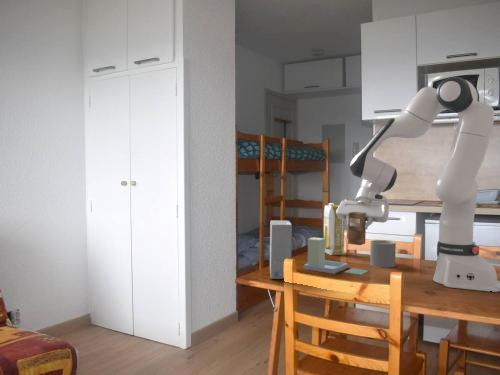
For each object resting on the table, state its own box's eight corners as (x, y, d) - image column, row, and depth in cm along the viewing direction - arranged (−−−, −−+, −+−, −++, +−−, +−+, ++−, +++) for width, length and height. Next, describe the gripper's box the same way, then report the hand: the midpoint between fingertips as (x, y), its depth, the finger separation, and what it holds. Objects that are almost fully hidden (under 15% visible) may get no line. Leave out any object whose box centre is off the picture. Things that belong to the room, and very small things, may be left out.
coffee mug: (384, 269, 178) (385, 244, 177) (365, 265, 186) (365, 241, 185) (405, 265, 185) (405, 241, 185) (385, 261, 193) (386, 238, 193)
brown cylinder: (365, 243, 172) (366, 212, 172) (360, 245, 168) (361, 213, 167) (353, 242, 175) (353, 211, 174) (347, 243, 171) (348, 212, 170)
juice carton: (321, 252, 213) (322, 202, 212) (336, 251, 215) (337, 202, 214) (330, 256, 204) (330, 204, 203) (345, 255, 206) (346, 203, 205)
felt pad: (369, 272, 173) (369, 270, 173) (361, 276, 167) (361, 274, 167) (352, 269, 177) (352, 268, 177) (344, 273, 171) (344, 272, 171)
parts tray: (347, 268, 179) (348, 263, 179) (334, 275, 168) (334, 269, 168) (318, 264, 186) (318, 259, 186) (303, 270, 176) (303, 264, 176)
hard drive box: (291, 279, 161) (292, 225, 160) (270, 279, 161) (270, 224, 160) (288, 269, 176) (289, 219, 175) (269, 269, 176) (269, 219, 176)
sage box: (324, 268, 177) (325, 238, 176) (318, 270, 173) (319, 240, 172) (313, 266, 180) (313, 237, 179) (307, 269, 176) (307, 238, 175)
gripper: (340, 194, 182) (329, 219, 175) (389, 196, 170) (380, 224, 163) (344, 204, 186) (333, 229, 179) (393, 207, 174) (384, 235, 167)
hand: (356, 227), depth 171 cm, fingers closed on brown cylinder, 5 cm apart
